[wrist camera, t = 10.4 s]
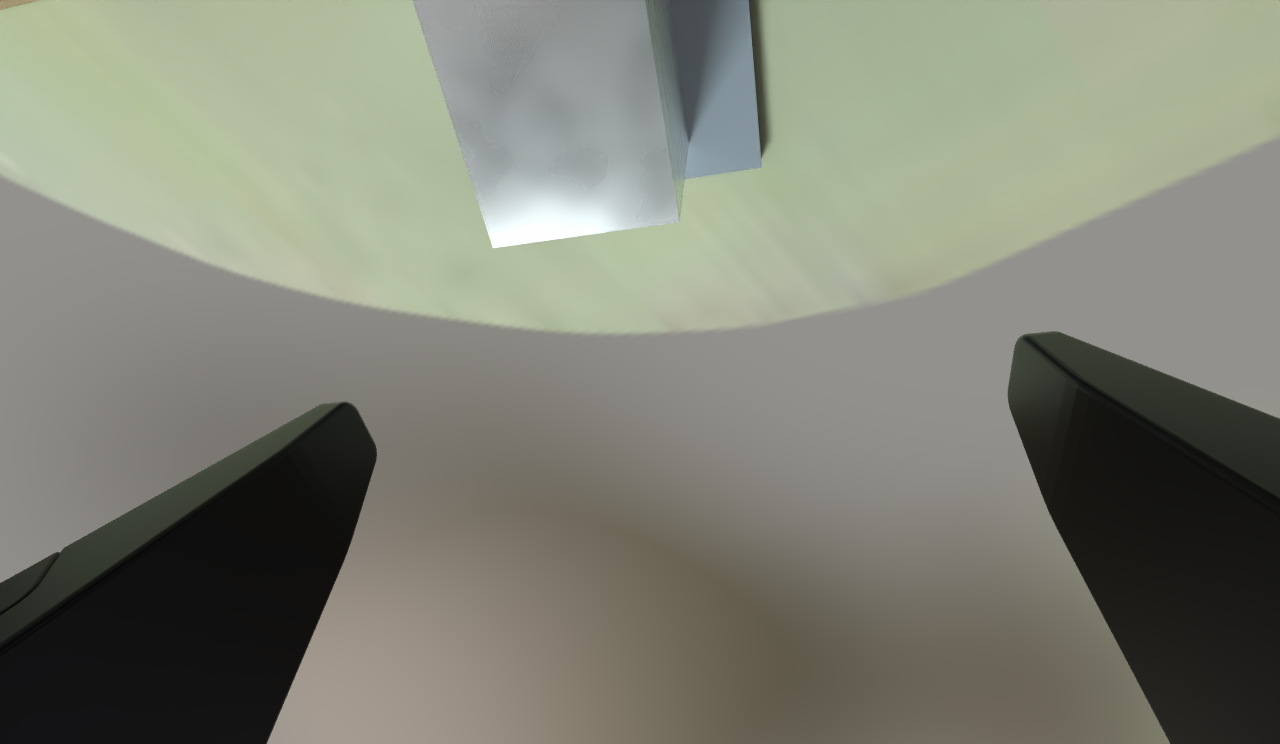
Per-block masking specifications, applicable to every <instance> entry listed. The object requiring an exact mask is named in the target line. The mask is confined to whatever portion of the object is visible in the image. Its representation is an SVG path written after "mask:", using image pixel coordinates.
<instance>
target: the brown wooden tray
mask: <svg viewBox="0 0 1280 744" xmlns="http://www.w3.org/2000/svg"><path fill="white" fill-rule="evenodd" d="M34 1H38V0H0V10H1V9H5V8H9V7H13V6H17V5H21V4H26V3H30V2H34Z"/></svg>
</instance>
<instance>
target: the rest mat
mask: <svg viewBox="0 0 1280 744" xmlns="http://www.w3.org/2000/svg"><path fill="white" fill-rule="evenodd" d="M670 7H671V14H672V21H673V29H674V36H675V43H676V51H677V58H678V65H679V72H680V80H681V87H682V94H683V102H684V109H685V116H686V124H687V131H688V138H689V149H688V157H687V165H686V173H685V179H688V178H695V177H701V176H708V175H714V174H721V173H728V172H734V171H741V170H748V169H754V168H761V167H762V165H761V152H760V139H759V127H758V114H757V101H756V88H755V75H754V62H753V49H752V37H751V24H750V11H749V0H670Z"/></svg>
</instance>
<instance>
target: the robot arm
mask: <svg viewBox="0 0 1280 744" xmlns="http://www.w3.org/2000/svg"><path fill="white" fill-rule="evenodd" d="M1008 403H1009V407H1010V410H1011V413H1012V416H1013V419H1014V421H1015V424H1016V427H1017V429H1018V432H1019V435H1020V438H1021V440H1022V443H1023V446H1024V448H1025V451H1026V454H1027V456H1028V459H1029V462H1030V464H1031V467H1032V470H1033V472H1034V475H1035V478H1036V480H1037V483H1038V486H1039V488H1040V491H1041V494H1042V496H1043V499H1044V501H1045V504H1046V506H1047V509H1048V511H1049V513H1050V515H1051V517H1052V519H1053V521H1054V523H1055V526H1056V527H1057V530H1058V531H1059V533H1060V535H1061V537H1062V539H1063V541H1064V543H1065V545H1066V547H1067V549H1068V550H1069V552H1070V554H1071V556H1072V558H1073V560H1074V562H1075V563H1076V566H1077V568H1078V569H1079V571H1080V573H1081V575H1082V577H1083V579H1084V581H1085V583H1086V585H1087V586H1088V588H1089V590H1090V592H1091V594H1092V596H1093V598H1094V600H1095V602H1096V604H1097V605H1098V607H1099V609H1100V611H1101V613H1102V615H1103V617H1104V619H1105V621H1106V623H1107V624H1108V626H1109V628H1110V630H1111V632H1112V634H1113V636H1114V638H1115V640H1116V642H1117V643H1118V645H1119V647H1120V649H1121V651H1122V653H1123V655H1124V657H1125V659H1126V661H1127V662H1128V664H1129V666H1130V668H1131V670H1132V672H1133V674H1134V676H1135V678H1136V679H1137V681H1138V683H1139V685H1140V687H1141V689H1142V691H1143V693H1144V695H1145V697H1146V699H1147V700H1148V702H1149V704H1150V706H1151V708H1152V710H1153V712H1154V714H1155V716H1156V717H1157V719H1158V721H1159V723H1160V725H1161V727H1162V729H1163V731H1164V732H1165V735H1166V736H1167V738H1168V740H1169V742H1170V744H1280V419H1279V418H1277V417H1274V416H1271V415H1269V414H1266V413H1264V412H1261V411H1259V410H1256V409H1254V408H1251V407H1248V406H1246V405H1243V404H1241V403H1238V402H1236V401H1233V400H1231V399H1228V398H1226V397H1223V396H1221V395H1218V394H1216V393H1213V392H1210V391H1208V390H1205V389H1203V388H1200V387H1198V386H1195V385H1193V384H1190V383H1188V382H1185V381H1183V380H1180V379H1177V378H1175V377H1172V376H1170V375H1167V374H1164V373H1162V372H1160V371H1157V370H1154V369H1152V368H1149V367H1147V366H1144V365H1142V364H1139V363H1137V362H1134V361H1132V360H1129V359H1127V358H1124V357H1122V356H1119V355H1117V354H1114V353H1111V352H1109V351H1106V350H1104V349H1101V348H1099V347H1096V346H1094V345H1091V344H1089V343H1086V342H1083V341H1081V340H1078V339H1076V338H1073V337H1071V336H1068V335H1066V334H1063V333H1061V332H1055V331H1051V332H1041V333H1031V334H1024V335H1022V336H1021V337H1020V338H1018V340H1017V342H1016V344H1015V348H1014V354H1013V360H1012V366H1011V373H1010V380H1009V386H1008ZM376 457H377V449H376V445H375V443H374V441H373V439H372V437H371V435H370V433H369V431H368V429H367V427H366V425H365V423H364V421H363V419H362V417H361V415H360V414H359V412H358V410H357V408H356V407H355V406H354V405H353V404H352V403H349V402H346V401H345V402H333V403H325V404H321V405H319V406H317V407H315V408H313V409H312V410H310V411H308V412H306V413H304V414H303V415H301V416H299V417H297V418H295V419H294V420H292V421H290V422H288V423H287V424H285V425H283V426H281V427H279V428H278V429H276V430H274V431H272V432H270V433H269V434H267V435H265V436H263V437H262V438H260V439H258V440H256V441H254V442H252V443H251V444H249V445H247V446H245V447H244V448H242V449H240V450H238V451H236V452H235V453H233V454H231V455H229V456H228V457H226V458H224V459H222V460H221V461H219V462H217V463H215V464H213V465H211V466H210V467H208V468H206V469H204V470H202V471H201V472H199V473H197V474H195V475H194V476H192V477H190V478H188V479H186V480H185V481H183V482H181V483H179V484H177V485H176V486H174V487H172V488H171V489H168V490H167V491H165V492H163V493H161V494H159V495H158V496H156V497H154V498H152V499H151V500H149V501H147V502H145V503H143V504H142V505H140V506H138V507H136V508H134V509H133V510H131V511H129V512H127V513H126V514H124V515H122V516H120V517H119V518H117V519H115V520H113V521H111V522H109V523H108V524H106V525H104V526H102V527H100V528H99V529H97V530H95V531H93V532H92V533H90V534H88V535H86V536H84V537H83V538H81V539H79V540H77V541H75V542H74V543H72V544H70V545H68V546H67V547H65V548H64V549H63V550H62V551H61V553H60V552H56V553H54V554H52V555H50V556H48V557H47V558H45V559H43V560H41V561H40V562H38V563H36V564H34V565H33V566H30V567H29V568H27V569H25V570H23V571H22V572H20V573H18V574H16V575H14V576H13V577H11V578H9V579H7V580H5V581H3V582H1V583H0V744H267V742H268V739H269V737H270V735H271V732H272V730H273V728H274V725H275V723H276V721H277V718H278V716H279V713H280V711H281V709H282V706H283V704H284V701H285V699H286V697H287V695H288V692H289V690H290V687H291V685H292V682H293V680H294V678H295V676H296V673H297V671H298V668H299V666H300V664H301V662H302V659H303V657H304V654H305V652H306V650H307V647H308V645H309V643H310V640H311V638H312V636H313V633H314V631H315V628H316V626H317V624H318V621H319V619H320V617H321V614H322V612H323V610H324V607H325V605H326V603H327V600H328V598H329V595H330V593H331V591H332V588H333V586H334V584H335V581H336V579H337V577H338V574H339V572H340V569H341V567H342V565H343V562H344V560H345V557H346V554H347V552H348V549H349V546H350V544H351V540H352V538H353V535H354V531H355V528H356V525H357V522H358V518H359V515H360V512H361V509H362V505H363V502H364V499H365V495H366V492H367V489H368V485H369V482H370V479H371V476H372V473H373V469H374V466H375V463H376Z"/></svg>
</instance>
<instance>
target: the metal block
mask: <svg viewBox="0 0 1280 744" xmlns="http://www.w3.org/2000/svg"><path fill="white" fill-rule="evenodd" d="M413 3H414V6H415V9H416V12H417V16H418V19H419V22H420V25H421V28H422V31H423V34H424V37H425V40H426V43H427V46H428V49H429V52H430V56H431V59H432V62H433V65H434V68H435V71H436V74H437V77H438V80H439V83H440V86H441V89H442V92H443V96H444V99H445V102H446V105H447V108H448V111H449V114H450V117H451V120H452V123H453V126H454V129H455V132H456V136H457V139H458V142H459V145H460V148H461V151H462V154H463V157H464V160H465V163H466V166H467V169H468V172H469V176H470V179H471V182H472V185H473V188H474V191H475V194H476V197H477V200H478V203H479V206H480V209H481V212H482V216H483V219H484V222H485V225H486V228H487V231H488V234H489V237H490V240H491V243H492V246H493V248H497V247H504V246H511V245H518V244H525V243H532V242H539V241H547V240H554V239H561V238H568V237H575V236H582V235H589V234H597V233H604V232H611V231H618V230H625V229H632V228H639V227H647V226H654V225H661V224H668V223H675V222H679V221H680V213H681V205H682V197H683V189H684V181H685V173H686V165H687V157H688V149H689V138H688V131H687V124H686V116H685V109H684V102H683V94H682V87H681V80H680V72H679V65H678V58H677V51H676V43H675V36H674V29H673V21H672V14H671V7H670V0H413Z"/></svg>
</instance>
